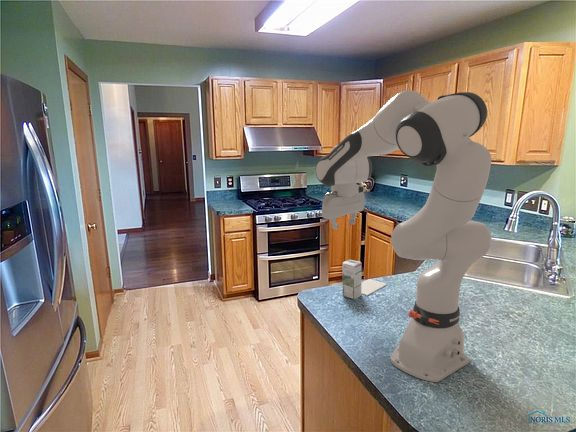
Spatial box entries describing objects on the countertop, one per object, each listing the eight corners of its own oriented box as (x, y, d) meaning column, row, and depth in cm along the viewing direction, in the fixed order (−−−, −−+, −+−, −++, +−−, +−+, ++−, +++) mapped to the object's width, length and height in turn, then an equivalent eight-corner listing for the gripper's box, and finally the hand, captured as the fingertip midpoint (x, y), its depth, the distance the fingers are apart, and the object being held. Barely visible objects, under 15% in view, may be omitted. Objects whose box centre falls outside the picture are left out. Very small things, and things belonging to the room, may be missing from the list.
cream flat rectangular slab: (367, 295, 138) (367, 294, 138) (349, 289, 145) (349, 288, 145) (387, 284, 148) (387, 283, 148) (369, 279, 155) (369, 278, 155)
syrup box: (362, 295, 139) (362, 261, 136) (354, 300, 135) (354, 265, 132) (350, 291, 143) (349, 258, 140) (342, 296, 139) (341, 262, 136)
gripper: (330, 194, 116) (331, 233, 119) (367, 186, 128) (367, 222, 131) (317, 192, 120) (318, 230, 123) (354, 185, 133) (354, 220, 136)
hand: (343, 226), depth 127 cm, fingers open, 8 cm apart
